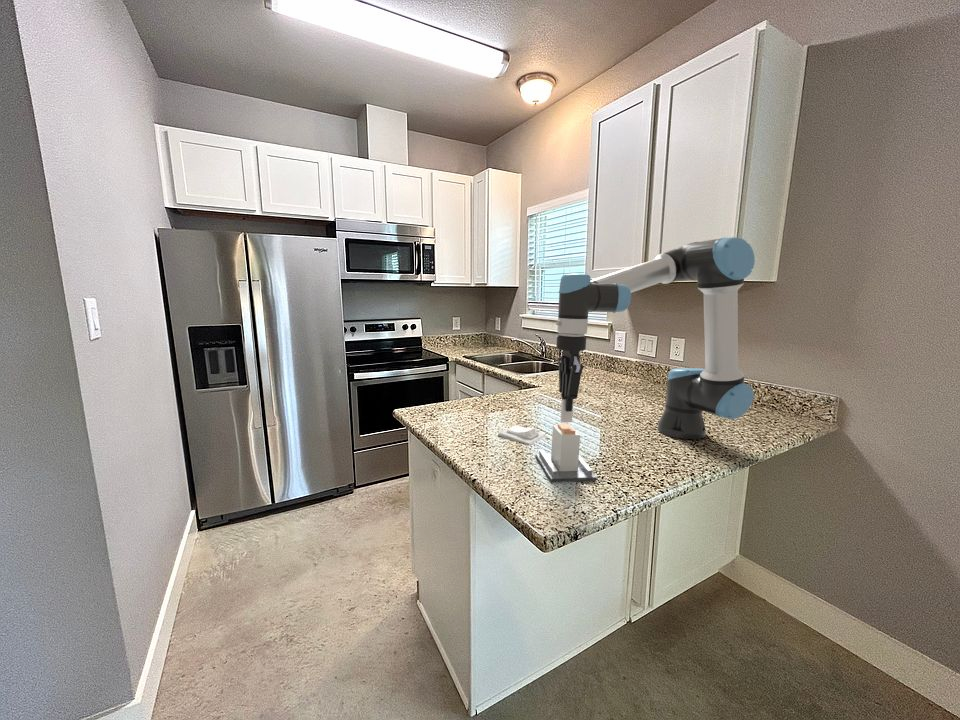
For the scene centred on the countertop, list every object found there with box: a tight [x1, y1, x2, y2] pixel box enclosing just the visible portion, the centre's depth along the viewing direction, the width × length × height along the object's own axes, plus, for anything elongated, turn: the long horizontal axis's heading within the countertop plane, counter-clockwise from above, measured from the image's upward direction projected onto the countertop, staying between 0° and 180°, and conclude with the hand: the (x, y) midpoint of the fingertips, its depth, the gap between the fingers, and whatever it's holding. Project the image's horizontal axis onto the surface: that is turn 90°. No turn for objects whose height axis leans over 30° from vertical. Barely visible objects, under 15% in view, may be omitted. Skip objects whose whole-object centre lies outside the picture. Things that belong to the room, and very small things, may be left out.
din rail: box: [535, 449, 597, 483], centre depth 107 cm, size 12×16×2 cm
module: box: [550, 422, 581, 471], centre depth 106 cm, size 5×8×11 cm, turn 6°
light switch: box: [497, 424, 547, 446], centre depth 130 cm, size 11×4×13 cm
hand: (566, 421), depth 105 cm, fingers closed
